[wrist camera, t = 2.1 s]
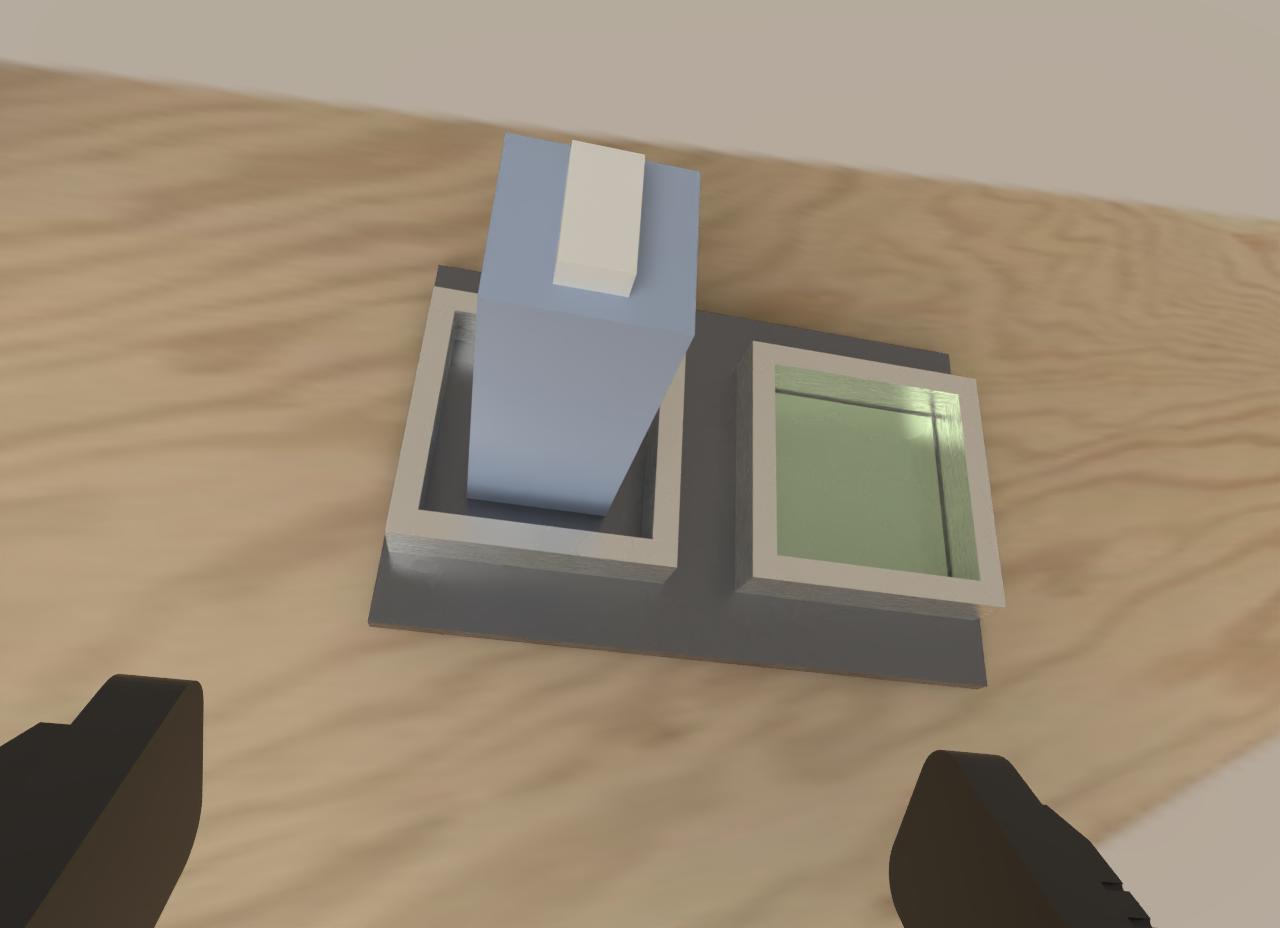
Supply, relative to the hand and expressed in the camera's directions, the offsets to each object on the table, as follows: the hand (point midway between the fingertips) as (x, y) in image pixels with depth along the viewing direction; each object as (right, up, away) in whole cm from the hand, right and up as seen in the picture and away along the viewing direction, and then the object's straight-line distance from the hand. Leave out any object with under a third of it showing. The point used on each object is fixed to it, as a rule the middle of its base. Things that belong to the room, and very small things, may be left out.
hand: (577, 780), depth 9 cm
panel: (+3, +3, +20) cm, 20 cm away
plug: (-3, +4, +18) cm, 19 cm away
